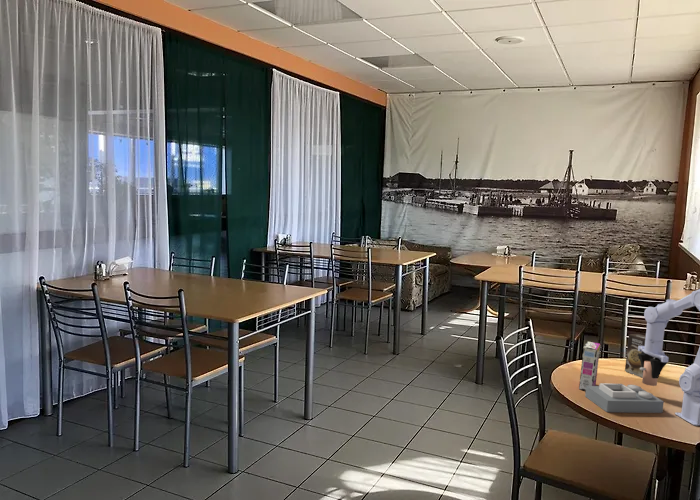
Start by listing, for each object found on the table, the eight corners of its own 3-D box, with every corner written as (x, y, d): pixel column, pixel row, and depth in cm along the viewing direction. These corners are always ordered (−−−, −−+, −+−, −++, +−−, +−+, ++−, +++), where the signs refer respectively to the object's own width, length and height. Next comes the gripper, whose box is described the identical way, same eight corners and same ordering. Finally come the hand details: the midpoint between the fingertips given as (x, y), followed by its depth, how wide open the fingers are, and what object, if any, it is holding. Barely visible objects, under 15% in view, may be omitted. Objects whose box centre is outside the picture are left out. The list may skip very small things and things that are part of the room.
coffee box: (623, 371, 229) (627, 334, 228) (634, 370, 232) (638, 333, 230) (643, 378, 221) (647, 339, 219) (654, 377, 224) (658, 338, 222)
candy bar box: (593, 392, 202) (597, 349, 200) (578, 389, 204) (582, 347, 203) (596, 384, 211) (600, 343, 210) (582, 381, 214) (586, 340, 212)
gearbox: (662, 412, 185) (664, 395, 185) (606, 412, 184) (608, 394, 183) (637, 397, 199) (639, 381, 199) (585, 396, 197) (586, 380, 197)
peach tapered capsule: (659, 385, 199) (662, 364, 198) (642, 385, 198) (644, 364, 198) (651, 381, 204) (653, 360, 203) (634, 381, 203) (636, 360, 202)
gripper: (678, 345, 193) (673, 382, 194) (651, 334, 207) (648, 369, 208) (659, 344, 192) (655, 382, 193) (634, 334, 206) (630, 369, 208)
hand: (650, 375), depth 201 cm, fingers closed on peach tapered capsule, 5 cm apart
